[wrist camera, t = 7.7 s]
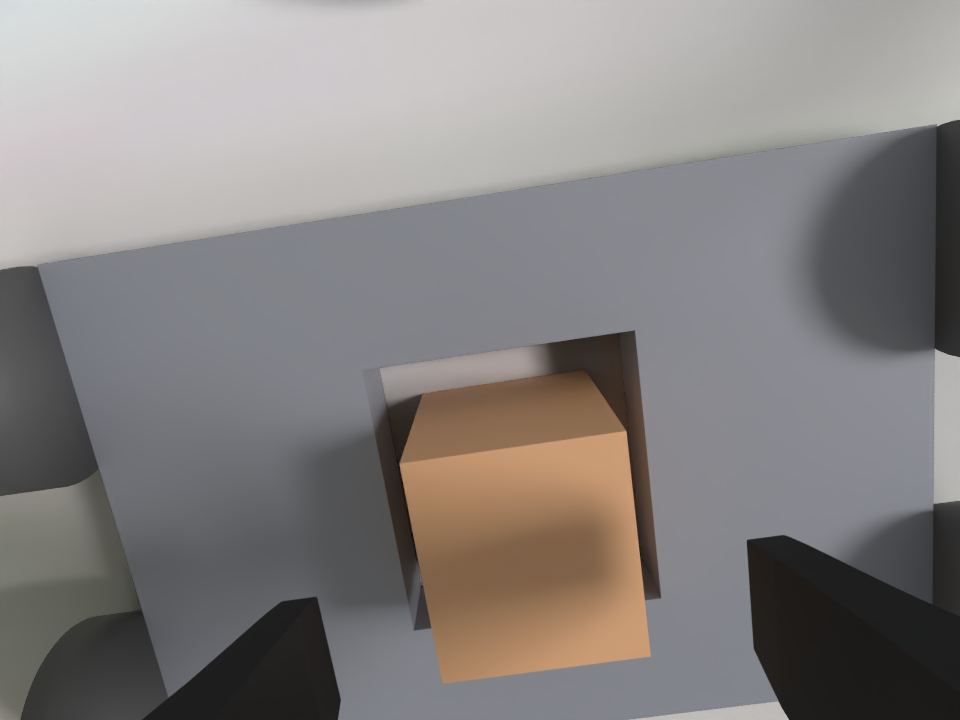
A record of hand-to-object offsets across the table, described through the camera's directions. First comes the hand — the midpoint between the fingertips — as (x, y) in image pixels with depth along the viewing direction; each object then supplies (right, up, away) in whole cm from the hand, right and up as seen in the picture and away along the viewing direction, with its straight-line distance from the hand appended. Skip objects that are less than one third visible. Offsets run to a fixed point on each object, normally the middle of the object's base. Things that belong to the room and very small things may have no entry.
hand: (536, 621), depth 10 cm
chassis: (0, +2, +7) cm, 7 cm away
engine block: (0, +1, +7) cm, 7 cm away
